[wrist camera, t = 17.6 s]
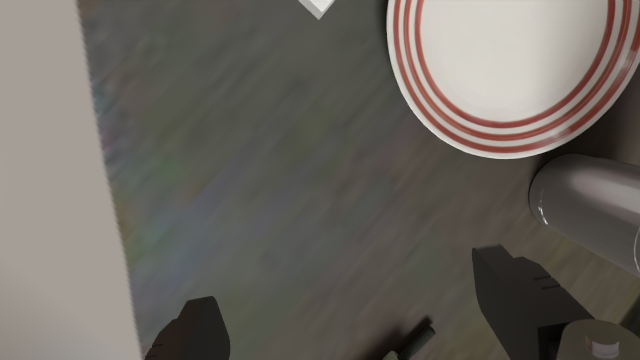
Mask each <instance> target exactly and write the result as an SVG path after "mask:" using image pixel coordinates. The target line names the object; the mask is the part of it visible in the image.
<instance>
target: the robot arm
mask: <svg viewBox="0 0 640 360" xmlns="http://www.w3.org/2000/svg"><path fill="white" fill-rule="evenodd" d="M529 204H530V208H531V211H532V213H533V215H534V217H535V218H536V219H537V220H538V221H539V222H540V223H542V224H543V225H545V226H546V227H548V228H550V229H552V230H554V231H555V232H557V233H559V234H561V235H563V236H564V237H566V238H568V239H570V240H572V241H573V242H575V243H577V244H579V245H581V246H583V247H584V248H586V249H588V250H590V251H592V252H594V253H595V254H597V255H599V256H601V257H603V258H605V259H606V260H608V261H610V262H612V263H614V264H616V265H617V266H619V267H621V268H623V269H625V270H627V271H628V272H630V273H632V274H634V275H636V276H638V277H639V278H640V166H638V165H634V164H629V163H625V162H621V161H616V160H612V159H607V158H603V157H598V158H595V157H591V156H587V155H582V154H576V153H573V154H565V155H561V156H558V157H556V158H554V159H552V160H551V161H549V162H548V163H547V164H545V165H544V166H543V167H542V168H541V170H540V171H539V172H538V173H537V175H536V176H535V178H534V180H533V182H532V185H531V188H530V193H529ZM472 261H473V270H474V279H475V288H476V295H477V300H478V303H479V306H480V309H481V311H482V313H483V315H484V317H485V318H486V320H487V321H488V323H489V325H490V326H491V328H492V330H493V331H494V333H495V335H496V336H497V338H498V339H499V341H500V343H501V344H502V346H503V348H504V349H505V351H506V352H507V354H508V356H509V357H510V359H511V360H640V339H639V338H638V337H637V336H636V335H634V334H633V333H632V332H630V331H629V330H627V329H625V328H624V327H621V326H619V325H617V324H614V323H611V322H607V321H603V320H596V319H595V318H594V317H593V316H592V315H591V314H590V313H589V312H588V311H587V310H586V309H585V308H584V307H582V306H581V305H580V304H579V303H578V302H577V301H576V300H575V299H574V298H573V297H572V296H571V295H570V294H569V293H568V292H567V291H566V290H565V289H564V288H563V287H561V286H560V284H559V283H558V282H557V281H556V280H555V279H554V278H551V275H550V274H549V273H548V272H547V271H546V270H545V269H544V268H543V267H542V266H540V265H539V264H537V263H535V262H533V261H531V260H529V259H527V258H525V257H517V258H513V257H512V256H511V255H510V254H509V253H508V252H507V251H506V250H505V249H504V247H503V246H502V245H501V244H492V245H487V246H482V247H476V248H473V249H472ZM229 356H230V340H229V336H228V333H227V330H226V327H225V324H224V321H223V318H222V316H221V313H220V310H219V307H218V304H217V302H216V300H215V298H214V297H213V296H209V297H203V298H198V299H193V300H188V301H187V302H186V304H185V306H184V307H183V309H182V311H181V313H180V315H179V316H178V318H177V319H174V320H172V321H171V322H170V323H169V324H168V325H167V326H166V327H165V328H164V329H163V330H162V331H161V332H160V333H159V334H158V336H157V338H156V339H155V341H154V343H153V345H152V348H150V350H149V351H148V353H147V355H146V356H145V360H229Z"/></svg>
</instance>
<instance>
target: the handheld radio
mask: <svg viewBox="0 0 640 360" xmlns="http://www.w3.org/2000/svg"><path fill="white" fill-rule="evenodd" d="M435 334H436V333H435V331H434V329H433V328H432V327H430V326H429V325H427V326H426V327H425V328H424V329H423V330H422V331H421V332H420V333H419V334H418V335H417V336H416V337H415V339H414V340H413V341H412V342H411V343H410V344H409V345H408V346H407V347H406V349H405V350H404V351H403V352H401V353H400V354H399V355H398V354H397V353H396V352H394V351H391V352H389V353H388V354H387V355H386V356H385V357H384V358H383V359H382V360H409V359H410V358H411V357H412V356H413V355H414V354H415V353H416V352H417V351H419V350H420V349H421V348H422V347H423V346H424V345H425V344H426V343H427V342H428V341H429V340H430V339H431V338H432V337H433V336H434V335H435Z"/></svg>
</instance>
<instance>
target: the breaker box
mask: <svg viewBox="0 0 640 360" xmlns="http://www.w3.org/2000/svg"><path fill="white" fill-rule="evenodd" d="M298 1H299V2H301V3H302V4H303V5H304V6H305V7H306V8H307V9H308V10H309V11H310V12H311V13H312V14H313V15H314V16H315V17H316V18H318V19H320V18H321V17H322V16H323V14H324V13H325V12H326V11H327V9H328V8H329V7H330V6H331V5H332V3H333V2H334V1H335V0H298Z"/></svg>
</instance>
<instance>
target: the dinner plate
mask: <svg viewBox="0 0 640 360" xmlns="http://www.w3.org/2000/svg"><path fill="white" fill-rule="evenodd" d="M387 41H388V49H389V55H390V60H391V64H392V68H393V71H394V74H395V77H396V80H397V83H398V85H399V87H400V90H401V92H402V94H403V96H404V98H405V99H406V101H407V103H408V104H409V106H410V108H411V109H412V110H413V112H414V113H415V115H416V116H417V117H418V118H419V119H420V121H421V122H422V123H423V124H424V125H425V126H426V127H427V128H428V129H429V130H430V131H432V132H433V133H434V134H435V135H437V136H438V137H439V138H440V139H442V140H443V141H445V142H447V143H448V144H450V145H452V146H454V147H456V148H458V149H460V150H462V151H465V152H467V153H470V154H474V155H478V156H482V157H488V158H497V159H512V158H521V157H527V156H532V155H536V154H540V153H543V152H546V151H549V150H552V149H554V148H556V147H558V146H560V145H563V144H565V143H566V142H568V141H570V140H572V139H573V138H575V137H576V136H578V135H579V134H581V133H582V132H584V131H585V130H587V129H588V128H589V127H590V126H592V125H593V124H594V123H595V122H596V121H597V120H598V119H599V118H600V117H601V116H602V115H603V114H604V113H605V112H606V111H607V110H608V109H609V108H610V107H611V106H612V105H613V103H614V102H615V101H616V100H617V99H618V97H619V96H620V95H621V93H622V92H623V90H624V89H625V87H626V86H627V84H628V83H629V81H630V79H631V78H632V76H633V74H634V72H635V70H636V68H637V66H638V64H639V62H640V0H389V1H388V9H387Z"/></svg>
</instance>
